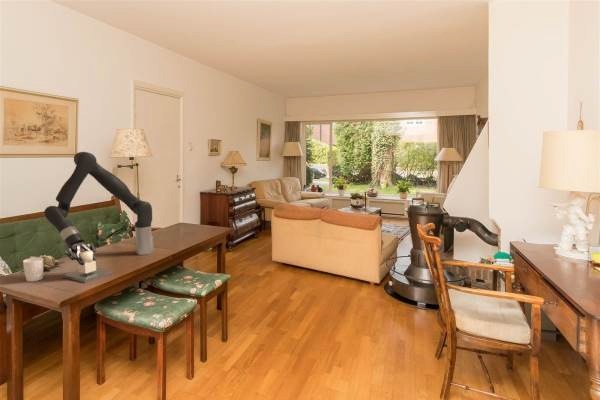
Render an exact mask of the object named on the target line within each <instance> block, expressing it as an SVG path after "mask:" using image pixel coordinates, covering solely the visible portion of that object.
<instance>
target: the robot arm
mask: <svg viewBox="0 0 600 400" xmlns="http://www.w3.org/2000/svg"><path fill="white" fill-rule="evenodd" d="M73 162H74V164H75V168H74V170H73V173H72V174H71V175H70V176H69V178H68V179H67V180H66V181H65V182H64V184H63V185H62V187H61V188H60V190H59V191H58V193H57V195H56V197H55V200H56V201H57V202H58V204H57V206H56V205H50V206H47V207H46V208H45V209H44V216H45V219H46V220H47V221H48V222H49V223H50V224H51V225H53V227H54V228H56V230H57V231H58V233H59V235H60V236H61V238H62V240H63V242H64V243H65V245H66V246H67V247H68V248H66V249H65V251H64V253H65V255H66V256H67V257H68V258H69V259H70V260H71V261H74V260H75V261H77V264H78V263H79V264H80V265H81V266H82V265H84V261H83V260H82V258H81V257H80V252H83V251H92V252H93V261H97V257H96V255H95V253H96V252H97V249H96V248H95V245H94V243H93V242H91V243H86V242H85V239H84V237H83V236H82V235H81V233H80V232H79V230H78V229H77V227H75V225H74V224H73V222H72V221H71V220H70V219H68V218H67V217H68V215H69V212H70V208H71V203H72V201H73V200H74V197H75V196H76V194H77V192H78V190H79V188H80V187H81V185H82V184H83V182H84V180H85V179H86V178H87V177H88V175H90V176H91V177H92V178H94V180H95V181H97V182H98V183H99V184H100V185H101V186H102V187H103V188H104V189H105V190H106V191H107V192H108V193H110V194H111V195H113V196H114V197H115V198H116V199H118V200H119V201H121V202H122V203H123V204H125V206H126V207H128V209H129V210H130V211H132V213H133V214H135V215H136V217H137V220H136V221H135V223H134V231H135V233H134V234H135V235H134V236H135V250H136V253H135V254H136V255H138V256H141V255H142V256H143V255H150V254H152V253H153V252H154V250H155V249H154V237H153V236H152V233H153V232H152V222H153V207H152V204H151V203H150V202H148V201H146V200H145V201H144V200H141V199H140V198H138V197H137V196H135V194H133V193H132V192H131V190H130V189H129V187H128V186H127V184H126V183H125V182H124V181H123V180H121V179H120V178H119V177H118V176H116V175H115V174H114V173H111V172H110V171H108V170H107V169H105V168H104V167H102V166H101V165H100V164H99V163H98V161H97V157H96V156H95V155H94V154H93V153H91V152H87V151H79V152H77V153H75V154H74V155H73Z"/></svg>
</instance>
